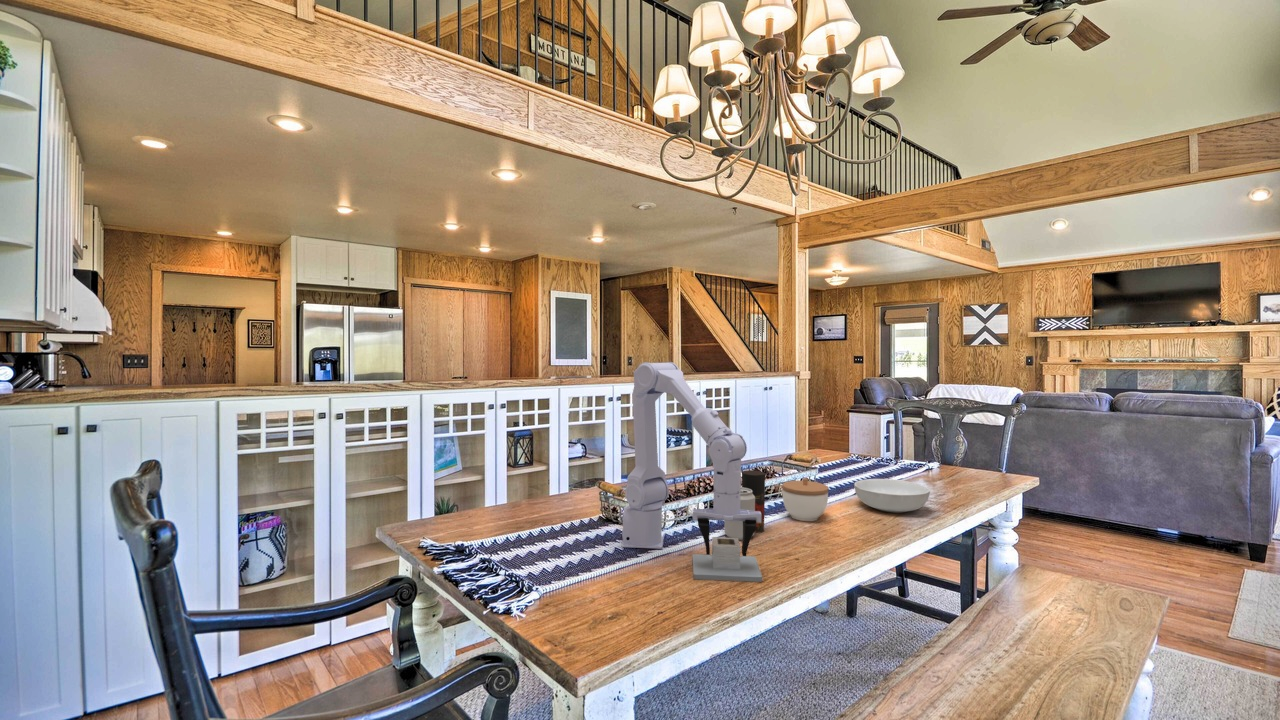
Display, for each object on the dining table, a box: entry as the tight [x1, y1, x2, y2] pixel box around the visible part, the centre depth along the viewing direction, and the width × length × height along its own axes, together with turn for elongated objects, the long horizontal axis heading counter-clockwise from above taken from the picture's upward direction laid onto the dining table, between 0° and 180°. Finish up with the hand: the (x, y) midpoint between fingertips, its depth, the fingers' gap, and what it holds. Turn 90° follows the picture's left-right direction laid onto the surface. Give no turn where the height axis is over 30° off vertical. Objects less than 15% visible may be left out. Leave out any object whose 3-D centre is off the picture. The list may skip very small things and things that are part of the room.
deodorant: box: [741, 469, 766, 534], centre depth 157 cm, size 6×6×15 cm
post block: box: [692, 553, 763, 583], centre depth 128 cm, size 14×12×5 cm
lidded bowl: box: [781, 477, 830, 522], centre depth 168 cm, size 13×13×11 cm
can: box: [723, 486, 755, 541], centre depth 151 cm, size 8×8×12 cm
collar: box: [711, 536, 741, 570], centre depth 129 cm, size 6×6×5 cm
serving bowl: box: [853, 478, 931, 514], centre depth 179 cm, size 21×21×7 cm
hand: (725, 553), depth 128 cm, fingers open, 7 cm apart
